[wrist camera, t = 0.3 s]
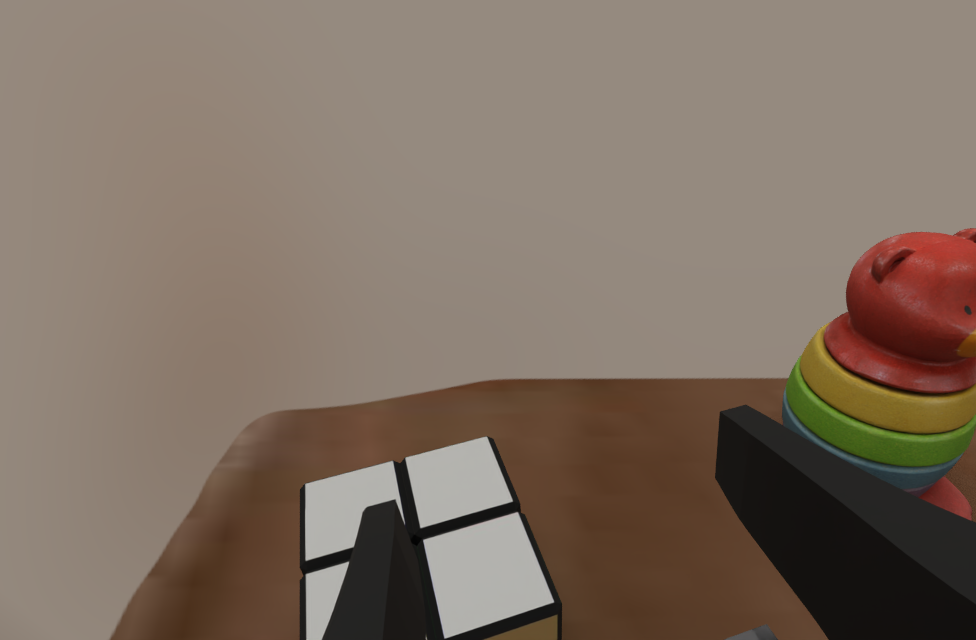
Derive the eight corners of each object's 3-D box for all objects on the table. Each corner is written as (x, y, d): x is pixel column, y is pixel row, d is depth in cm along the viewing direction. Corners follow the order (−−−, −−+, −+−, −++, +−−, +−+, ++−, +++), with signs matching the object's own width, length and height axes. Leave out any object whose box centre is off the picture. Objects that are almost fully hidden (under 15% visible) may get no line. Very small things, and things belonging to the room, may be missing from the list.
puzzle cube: (341, 593, 32) (297, 480, 27) (501, 544, 34) (491, 430, 29) (355, 799, 24) (297, 697, 19) (564, 719, 26) (566, 606, 21)
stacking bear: (820, 569, 32) (938, 310, 22) (728, 443, 40) (783, 216, 30) (986, 534, 33) (1170, 273, 23) (862, 419, 41) (958, 192, 31)
